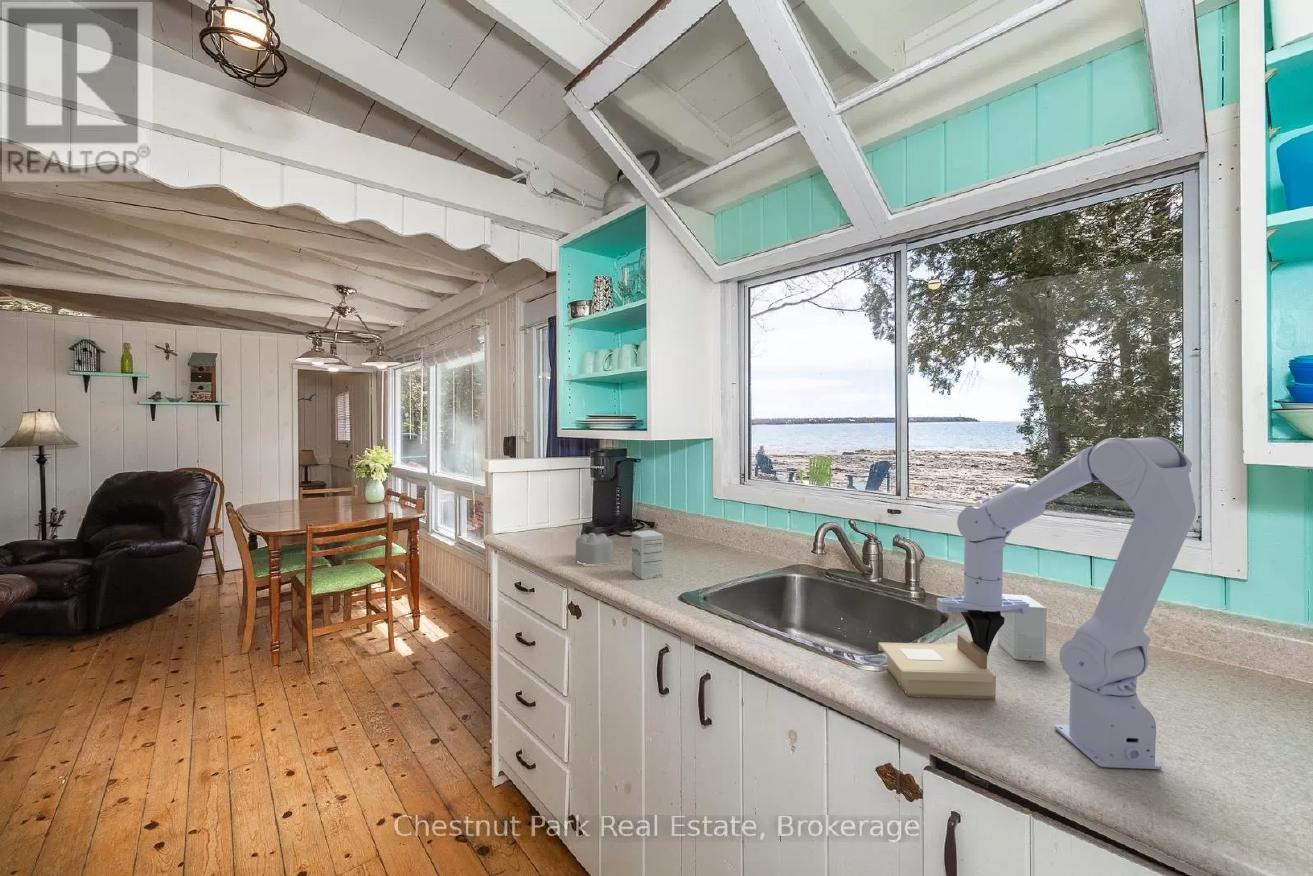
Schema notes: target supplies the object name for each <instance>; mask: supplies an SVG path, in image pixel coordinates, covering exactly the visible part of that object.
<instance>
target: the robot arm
mask: <svg viewBox="0 0 1313 876" xmlns="http://www.w3.org/2000/svg"><path fill="white" fill-rule="evenodd" d="M1192 466H1193V462H1192V461H1191V459H1189V457H1188V456H1187V455H1186V454H1185V453H1184V451H1183V450H1182V449H1181V448H1180V446H1178V444H1177V443H1175V442H1173V441H1172V440H1170V439H1168V438H1165V437H1162V436H1146V437H1139V438H1137V437H1136V438H1135V437H1133V438H1122V437H1109V438H1105V439H1103V440H1101V441H1099V442H1098V443H1097V444H1096V445H1094V446H1090V447H1087V448H1084V449H1082V450H1081V451H1080V452H1079V453H1078V454H1077V455H1076V456H1074V457H1072V458H1071V459H1070V460H1067V461H1066V462H1064V463H1063V464H1062V465H1060V466H1058V467H1057V468H1055V469H1054V470H1052V471H1050V472H1049V473H1048V474H1046V475H1045V476H1042V477H1041V478H1040V479H1038V480H1037V481H1035V482H1034V483H1032V484H1030V485H1029V484H1025V483H1016V484H1015V483H1008V484H1006V485H1005V486H1003V488H1002V489H1003V490H1004V491H1002V492H1001V493H999V494H997V495H995V496H993V497H992V498H988V497H987V498H985V499H983V500H982V502H981V503H982V504H980V506H978V507H977V506H967V507H964V508H963V510H962V511H960V513H959V514H958V516H957V520H956V521H957V522H956V525H957V528H958V531H959V533H960V534H961V536H962V537H964V556H963V557H964V558H963V559H964V560H963V562H964V563H963V595H960V596H951V597H942V598H941V597H938V598H937V597H936V609H937V611H939V612H940V613H945V614H948V612H952V613H953V612H957V613H959V612H960V613H961V615H962V617H963V618H964V620H965V621H964V622H965V623H966V625H967V628H968V631H969V633H970V635H971V641H972V642H974V643H975V644H976V645H977V646H979V647H980V648H981V649H982V650H984V651H985V652H986V653H987V657H988V656H989V652H990V649H991V646H992V644H993V641H994V638H995V637H996V635H998V630H999V629H1000V628H1001V626H1002V625H1003V624H1004V620H1005V618H1004V617H1003V616H1001V613H1021V614H1024V615H1029V603H1027V602H1025V601H1023V600H1014V599H1005V598H1002V594H1003V573H1004V572H1003V571H1004V570H1003V567H1004V566H1003V565H1004V562H1003V561H1004V548H1006V540H1007V538H1008V537H1009V536H1010V535H1011V533H1012V531H1013V530H1014V529H1017V528H1018V527H1020V526H1022V525H1024V524H1026V523H1028V522H1031V521H1032V520H1034V519H1036V518H1038V517H1040V516H1041V515H1043V514H1044V512H1045V510H1046V504H1047V503H1048V502H1051V501H1053V500H1055V499H1058V498H1059V497H1062V496H1064V495H1066V494H1069V493H1071V492H1072V491H1074V490H1077V489H1080V488H1081V487H1084V486H1085V485H1087V484H1090V483H1091V482H1101V483H1102V484H1104V485H1105V486H1106V487H1108V488H1109V489H1110V490H1111V491H1113V492H1114V493H1115V494H1116V495H1118V496H1119V497H1120V498H1121V499H1123V500H1124V501H1125V502H1126V503H1127V505H1128V506H1129V508H1130V509H1131V510H1132V512H1133V513H1134V517H1133V519H1132V522H1131V524H1130V527H1129V529H1128V531H1127V535H1126V536H1125V539H1124V542H1123V544H1122V546H1121V548H1120V551H1119V553H1118V555H1117V557H1116V560H1115V563H1114V565H1113V567H1112V570H1111V572H1110V575H1109V577H1108V579H1107V582H1106V584H1105V586H1104V588H1103V589H1104V590H1103V591H1102V594H1101V597H1100V599H1099V601H1098V604H1097V606H1096V608H1095V611H1094V613H1093V614H1092V616H1090V618H1088V619H1087V620H1086V621H1085V622H1083V623H1082V624H1081V625H1080V626H1079V627H1078V628H1076V632H1075V633H1074V636H1073V637H1072V638H1071V639H1068V641H1066V642H1065V643H1063V644H1062V646H1061V647H1060V650H1059V661H1060V663H1061V667H1062V669H1063V670H1064V672H1065V673H1066V675H1067V676H1068V681H1069V682H1070V685H1069V717H1068V718H1069V719H1068V721H1069V722H1068V724H1056V723H1055V724H1054V726H1053V727H1054V729H1055V730H1056V731H1058V732H1059V733H1060V734H1061V735H1062V736H1063V737H1064V738H1065V739H1066V740H1068V741H1069V742H1070V743H1071V744H1073V745H1074V746H1075V747H1076V748H1077V749H1078V750H1080V752H1082V753H1083V754H1084V755H1085V756H1087V758H1089V759H1090V760H1091V761H1092V762H1094V763H1095V764H1096V765H1097V766H1099V767H1102V768H1116V769H1117V768H1118V769H1121V768H1122V769H1140V770H1141V769H1143V770H1144V769H1145V770H1146V769H1147V770H1162V765H1161V763H1159V762H1158V761H1157V760H1156V738H1157V735H1156V734H1157V723H1156V719H1155V717H1154V715H1153V714H1152V712H1151V711H1149V710H1148V708H1146V707H1145V706H1144V705H1143V704H1142V703H1141V701H1140V699H1139V697H1138V695H1137V683H1138V681H1137V679H1138V677H1140V676H1142V675H1143V674H1144V673H1146V671H1147V670H1148V667H1149V658H1148V647H1149V644H1150V642H1151V638H1150V637H1149V636H1148V634H1147V633H1145V631H1144V629H1145V628H1146V625H1147V623H1148V621H1149V618H1150V616H1151V615H1152V612H1153V610H1154V608H1155V605H1156V604H1157V602H1158V600H1159V597H1160V595H1161V592H1162V590H1163V589H1164V586H1165V584H1166V582H1167V580H1168V577H1169V575H1170V573H1171V571H1172V569H1173V566H1174V564H1175V562H1176V560H1177V558H1178V556H1179V553H1180V551H1181V549H1182V547H1183V545H1184V543H1185V540H1186V538H1187V536H1188V534H1189V531H1190V529H1191V527H1192V525H1193V522H1194V520H1195V518H1196V513H1197V508H1196V503H1195V499H1194V493H1193V489H1192V484H1191V479H1190V472H1191V469H1192Z"/></svg>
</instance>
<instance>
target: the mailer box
mask: <svg viewBox="0 0 1313 876" xmlns="http://www.w3.org/2000/svg"><path fill="white" fill-rule="evenodd" d="M887 669H888V670H887ZM987 669H988V668H987ZM886 670H887V672H888V673H889V672H890V673H891V674H892V675H891V674H890V673H889V674H890V675H891V676H892V678H893V677H894V678H895V679H896V680H897V682H898V683H899V684H900V685H899V684H898V683H897V682H896V683H897V684H898V685H899V687H900V686H901V687H902V688H903V689H904V691H906V693H907V694H906V693H905V694H906V696H907V695H908V696H920V697H919V698H925V697H938V698H937V699H960V700H961V699H963V700H994V701H996V694H997V693H996V689H997V683H996V682H997V675H996V674H995V673H994V672H992V671H991V670H990V669H988V670H989V671H990V672H991V673H992V674H993V680H992V682H973V681H937V680H902V679H901V671H900V670H899V669H898V668H897V666H896V665H895V664H894V663H893V662H892V660H891V659H890V658H889V657H888V656H887V655H886ZM894 678H893V679H894ZM895 679H894V680H895ZM896 680H895V681H896ZM901 687H900V688H901ZM902 688H901V689H902ZM903 689H902V690H903ZM904 691H903V692H904ZM908 696H907V697H908ZM922 696H923V697H922ZM924 696H925V697H924ZM939 697H940V698H939ZM941 697H943V698H941Z"/></svg>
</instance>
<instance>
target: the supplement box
mask: <svg viewBox="0 0 1313 876" xmlns="http://www.w3.org/2000/svg"><path fill="white" fill-rule="evenodd" d="M632 572H633V573H634V574H635V575H634V574H633V575H634V576H636V575H637V576H638V577H637V576H636V577H637V578H639V577H640V578H641V579H644V578H650V577H659V578H662V577H664V534H662V533H660V532H657V531H656V530H653V529H648V530H639V531H632V532H631V573H632ZM640 578H639V579H640ZM641 579H640V580H641ZM644 580H645V579H644Z"/></svg>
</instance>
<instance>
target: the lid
mask: <svg viewBox="0 0 1313 876" xmlns="http://www.w3.org/2000/svg"><path fill="white" fill-rule="evenodd" d="M956 641H957V644H955V643H922V642H921V643H919V642H918V643H915V642H913V643H912V642H882V641H881V642H880V641H879V642H878V644H877V645H878V651H879V652H884V653H885V654H886V657H887V656H888V657H889V658H890V659H891V660H892V662H893V663H894V664H895V665H896V666H897V668H898V669H899V670H900V671H901V679H902V680H937V681H973V682H992V680H993V674H994V673H993V672H992V671H991V670H990V669H989V670H990V671H991V672H992V673H993V674H992V673H991V672H990V671H989V670H988V656H987V653H986V652H985V651H984V650H982V649H981V648H980V647H979V646H977V645H976V644H975V643H974V642H973V640H972V639H970V638H968V636H967V635H965V634H964V633H958V634H957V640H956Z"/></svg>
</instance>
